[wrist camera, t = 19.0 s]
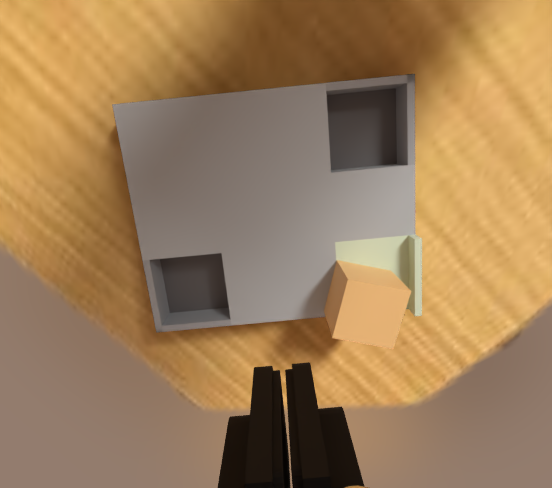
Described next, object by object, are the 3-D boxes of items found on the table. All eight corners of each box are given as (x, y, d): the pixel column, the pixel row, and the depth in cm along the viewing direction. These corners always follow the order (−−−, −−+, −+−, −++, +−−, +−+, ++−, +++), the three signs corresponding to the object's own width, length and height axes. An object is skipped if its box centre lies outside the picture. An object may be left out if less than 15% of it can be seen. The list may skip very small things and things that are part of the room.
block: (391, 270, 33) (411, 291, 28) (376, 320, 34) (393, 349, 30) (336, 260, 33) (347, 279, 28) (323, 311, 34) (332, 338, 29)
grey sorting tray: (401, 80, 32) (422, 69, 28) (404, 295, 37) (421, 315, 33) (126, 108, 32) (104, 102, 28) (165, 318, 37) (151, 340, 33)
